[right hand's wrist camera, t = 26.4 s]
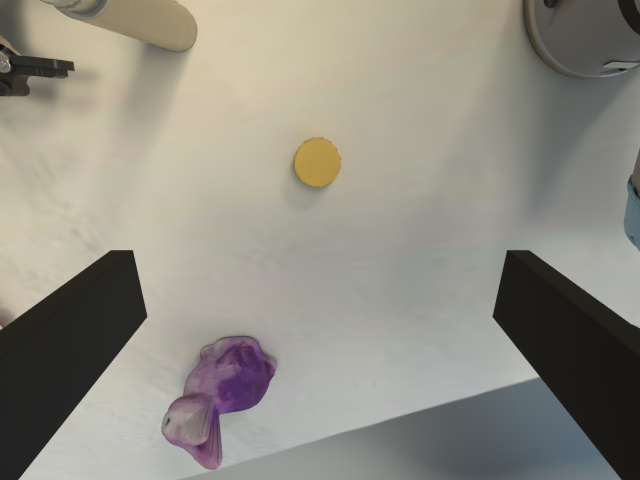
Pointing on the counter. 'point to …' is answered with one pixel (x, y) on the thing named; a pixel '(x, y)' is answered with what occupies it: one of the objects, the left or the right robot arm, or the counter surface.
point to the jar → (137, 19)
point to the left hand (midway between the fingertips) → (59, 4)
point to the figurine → (217, 396)
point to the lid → (317, 162)
